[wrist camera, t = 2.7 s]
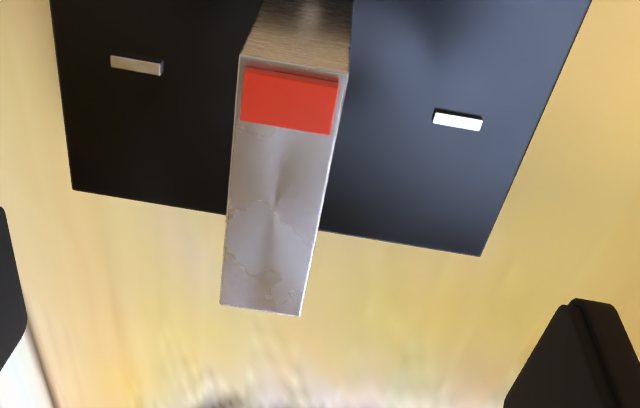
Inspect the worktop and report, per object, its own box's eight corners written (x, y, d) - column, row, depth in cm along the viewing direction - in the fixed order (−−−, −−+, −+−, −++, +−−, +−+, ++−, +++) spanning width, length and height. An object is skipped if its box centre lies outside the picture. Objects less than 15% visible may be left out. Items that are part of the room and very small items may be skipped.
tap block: (104, 152, 22) (70, 201, 19) (78, -183, 16) (23, -174, 13) (465, 213, 23) (478, 268, 20) (582, -86, 16) (622, -60, 14)
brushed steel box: (315, 189, 19) (299, 325, 14) (254, 178, 19) (217, 312, 14) (355, -17, 15) (349, 79, 10) (277, -31, 15) (235, 59, 10)
